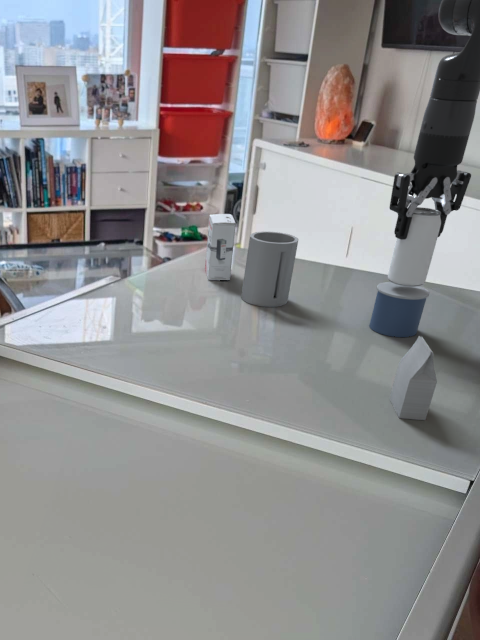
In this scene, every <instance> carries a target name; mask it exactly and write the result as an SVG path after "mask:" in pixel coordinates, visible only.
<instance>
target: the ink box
mask: <svg viewBox="0 0 480 640" xmlns="http://www.w3.org/2000/svg"><path fill="white" fill-rule="evenodd" d="M208 216H209V217H208V226H207V228H208V229H207V240H206V252H205V264H204V270H205V274H206V277H207V280H208V281H220V280H230V281H231V274H232V264H233V254H234V245H235V237H236V236H235V235H236V226H237V225H236V220H235V218H234V216H233V214H230V213H215V214H214V213H213V214H209V215H208Z"/></svg>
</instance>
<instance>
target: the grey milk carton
mask: <svg viewBox="0 0 480 640" xmlns="http://www.w3.org/2000/svg"><path fill="white" fill-rule="evenodd" d="M437 384H438V381H437V374H436V370H435V364H434V352H433V351H432V348H431V347H430V346H429V345H428V343H427V342H426V340H425V339H424V337H423V335H418V337H417V338H416V340H415V342H414V343H413V344H412V346H411V347H410V348H409V350H408V351H407V352H406V353H405V354H404V355H403V356H402V358H401V359H400V360H399V361H398V365H397V369H396V372H395V376H394V380H393V383H392V387H391V390H390V394H389V398H388V399H389V400H390V403H391V405H392V407H393V409H394V410H395V413H396V415H397V417H398V419H405V420H417V421H418V420H420V421H426V419H427V417H428V412H429V410H430V406H431V403H432V400H433V396H434V393H435V390H436V388H437V387H436V386H437Z"/></svg>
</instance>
